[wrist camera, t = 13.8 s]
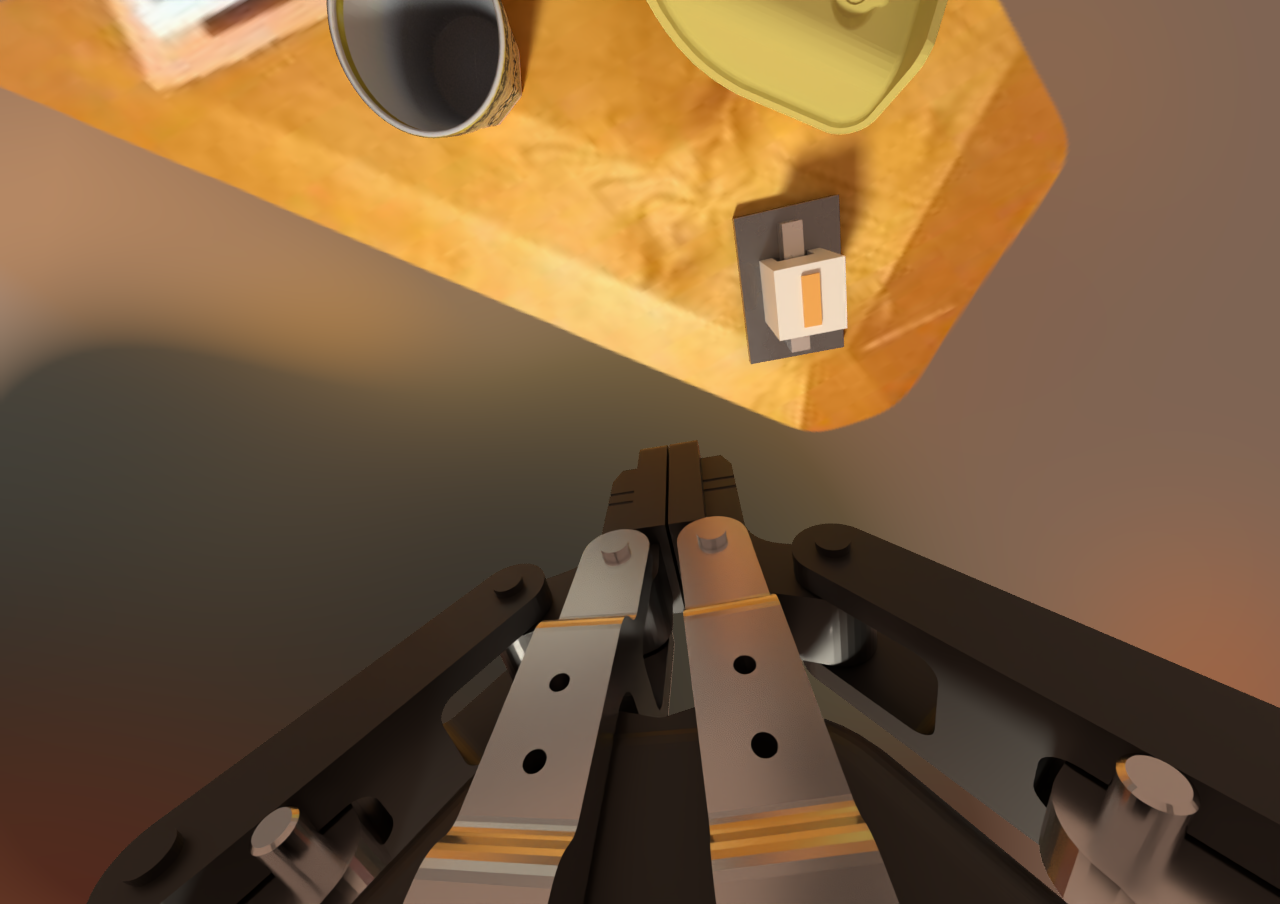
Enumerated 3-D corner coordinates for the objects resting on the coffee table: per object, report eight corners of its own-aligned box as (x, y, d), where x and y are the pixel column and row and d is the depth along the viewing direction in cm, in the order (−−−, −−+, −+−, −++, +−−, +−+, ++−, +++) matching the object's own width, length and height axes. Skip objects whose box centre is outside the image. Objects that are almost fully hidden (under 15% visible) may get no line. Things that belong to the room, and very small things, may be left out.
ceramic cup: (549, 154, 38) (511, 140, 29) (423, 149, 39) (349, 134, 30) (540, -75, 32) (489, -180, 23) (391, -79, 33) (286, -183, 24)
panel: (732, 218, 40) (736, 219, 37) (835, 194, 38) (847, 194, 36) (749, 360, 45) (754, 371, 42) (840, 343, 44) (851, 353, 41)
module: (759, 260, 40) (774, 271, 34) (820, 247, 39) (846, 256, 33) (765, 321, 42) (780, 342, 36) (823, 310, 41) (848, 329, 35)
